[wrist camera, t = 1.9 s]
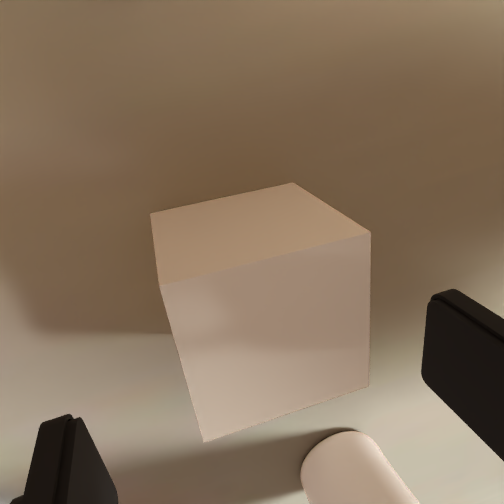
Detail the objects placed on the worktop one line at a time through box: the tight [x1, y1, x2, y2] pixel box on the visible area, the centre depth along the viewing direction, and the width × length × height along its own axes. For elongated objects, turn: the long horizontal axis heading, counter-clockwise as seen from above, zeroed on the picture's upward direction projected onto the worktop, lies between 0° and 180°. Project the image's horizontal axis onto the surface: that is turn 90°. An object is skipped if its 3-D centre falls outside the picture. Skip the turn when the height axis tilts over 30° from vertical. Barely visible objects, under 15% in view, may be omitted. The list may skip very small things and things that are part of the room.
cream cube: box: [150, 183, 371, 443], centre depth 14 cm, size 6×6×6 cm
